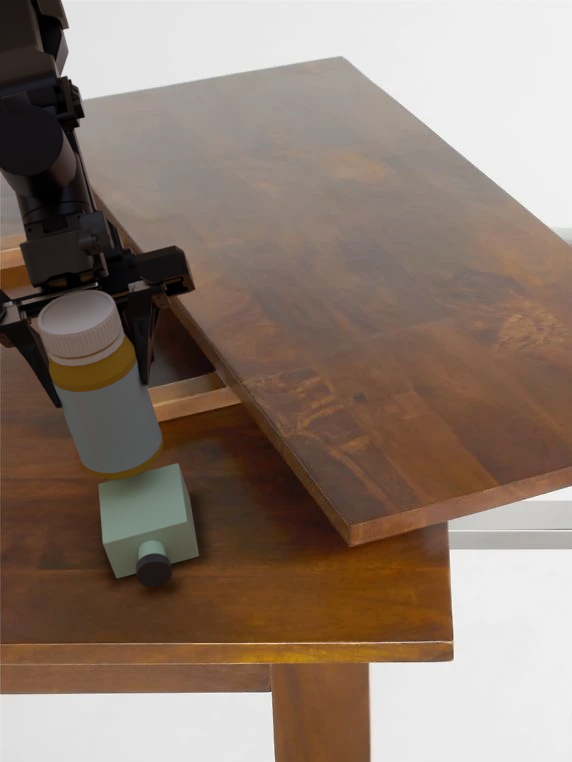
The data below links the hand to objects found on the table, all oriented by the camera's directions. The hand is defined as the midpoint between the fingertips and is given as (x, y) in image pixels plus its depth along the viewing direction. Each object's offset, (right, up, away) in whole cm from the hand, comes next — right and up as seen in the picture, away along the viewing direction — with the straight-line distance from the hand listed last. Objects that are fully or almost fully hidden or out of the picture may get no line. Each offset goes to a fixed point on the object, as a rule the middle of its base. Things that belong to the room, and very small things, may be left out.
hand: (102, 396), depth 112 cm
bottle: (+1, -5, +6) cm, 8 cm away
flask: (+4, -13, +5) cm, 14 cm away
